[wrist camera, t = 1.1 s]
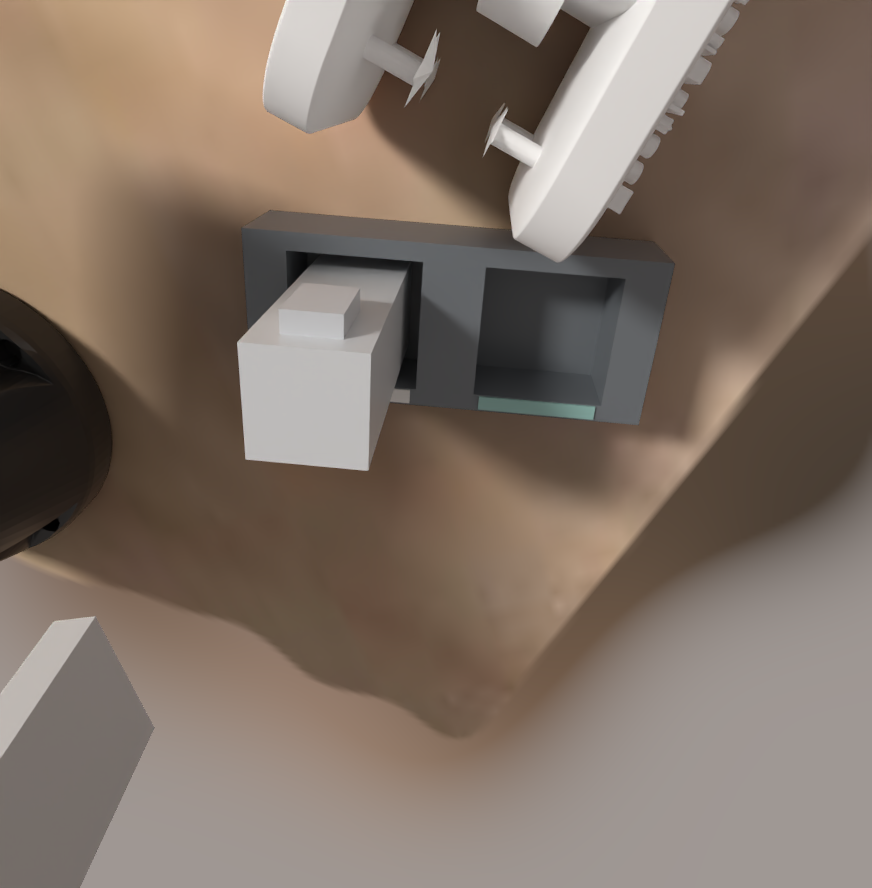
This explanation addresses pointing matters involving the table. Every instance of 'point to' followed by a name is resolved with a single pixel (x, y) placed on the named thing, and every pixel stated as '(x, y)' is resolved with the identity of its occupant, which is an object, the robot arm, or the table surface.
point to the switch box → (492, 311)
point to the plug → (326, 363)
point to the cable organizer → (560, 130)
